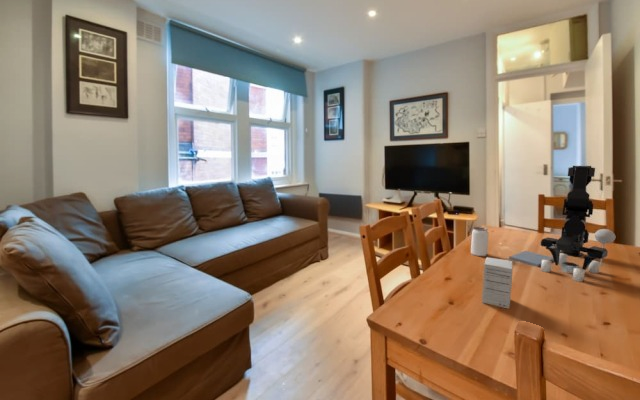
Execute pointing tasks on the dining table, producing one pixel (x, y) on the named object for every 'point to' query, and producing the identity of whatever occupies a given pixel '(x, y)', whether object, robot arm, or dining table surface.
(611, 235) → the lollipop
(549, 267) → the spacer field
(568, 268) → the grey faceted polyhedron
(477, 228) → the can
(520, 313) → the dining table surface
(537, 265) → the board
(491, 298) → the supplement box
